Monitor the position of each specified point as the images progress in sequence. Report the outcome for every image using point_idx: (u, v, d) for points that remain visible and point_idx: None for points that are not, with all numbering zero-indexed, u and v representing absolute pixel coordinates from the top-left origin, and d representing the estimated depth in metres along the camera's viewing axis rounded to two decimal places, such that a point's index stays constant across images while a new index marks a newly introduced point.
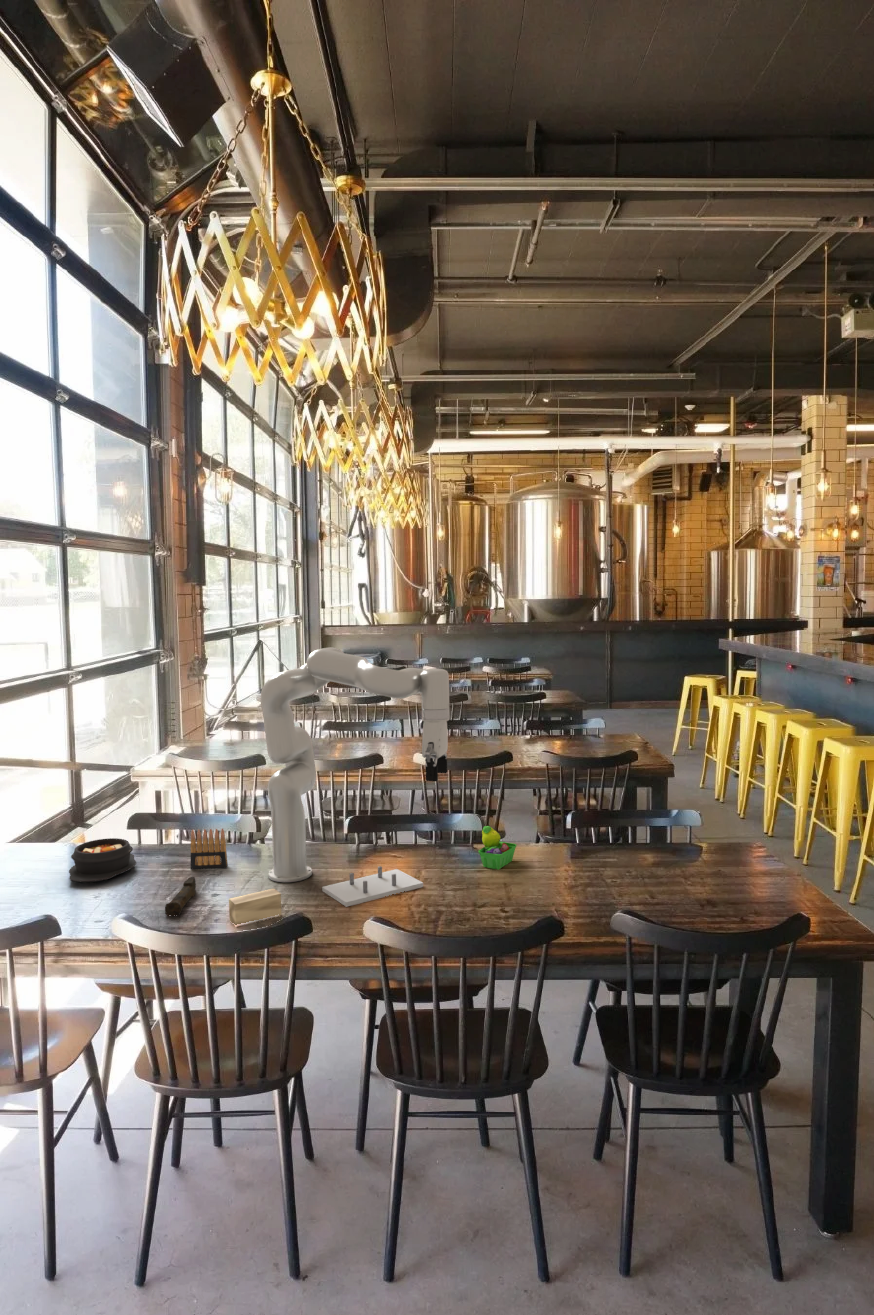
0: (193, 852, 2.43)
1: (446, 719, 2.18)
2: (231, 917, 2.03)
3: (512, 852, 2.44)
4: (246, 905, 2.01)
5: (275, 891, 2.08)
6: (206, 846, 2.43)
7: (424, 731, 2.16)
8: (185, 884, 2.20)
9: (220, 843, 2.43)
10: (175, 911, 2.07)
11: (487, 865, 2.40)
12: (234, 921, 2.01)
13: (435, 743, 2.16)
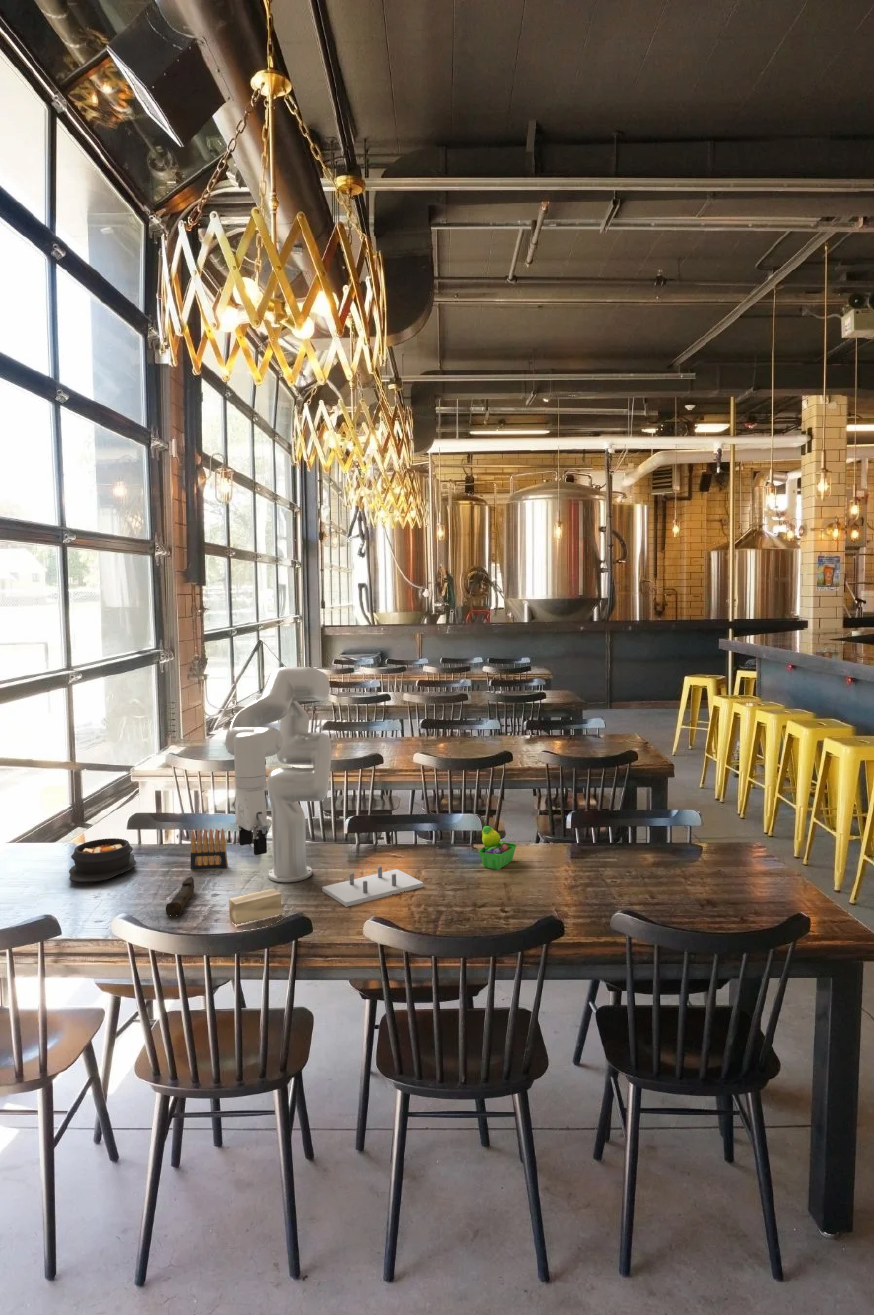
0: (193, 852, 2.43)
1: None
2: (231, 917, 2.03)
3: (512, 852, 2.44)
4: (246, 905, 2.01)
5: (275, 891, 2.08)
6: (206, 846, 2.43)
7: (251, 801, 1.98)
8: (184, 884, 2.20)
9: (220, 843, 2.43)
10: (176, 911, 2.07)
11: (487, 865, 2.40)
12: (234, 921, 2.01)
13: (263, 812, 2.00)
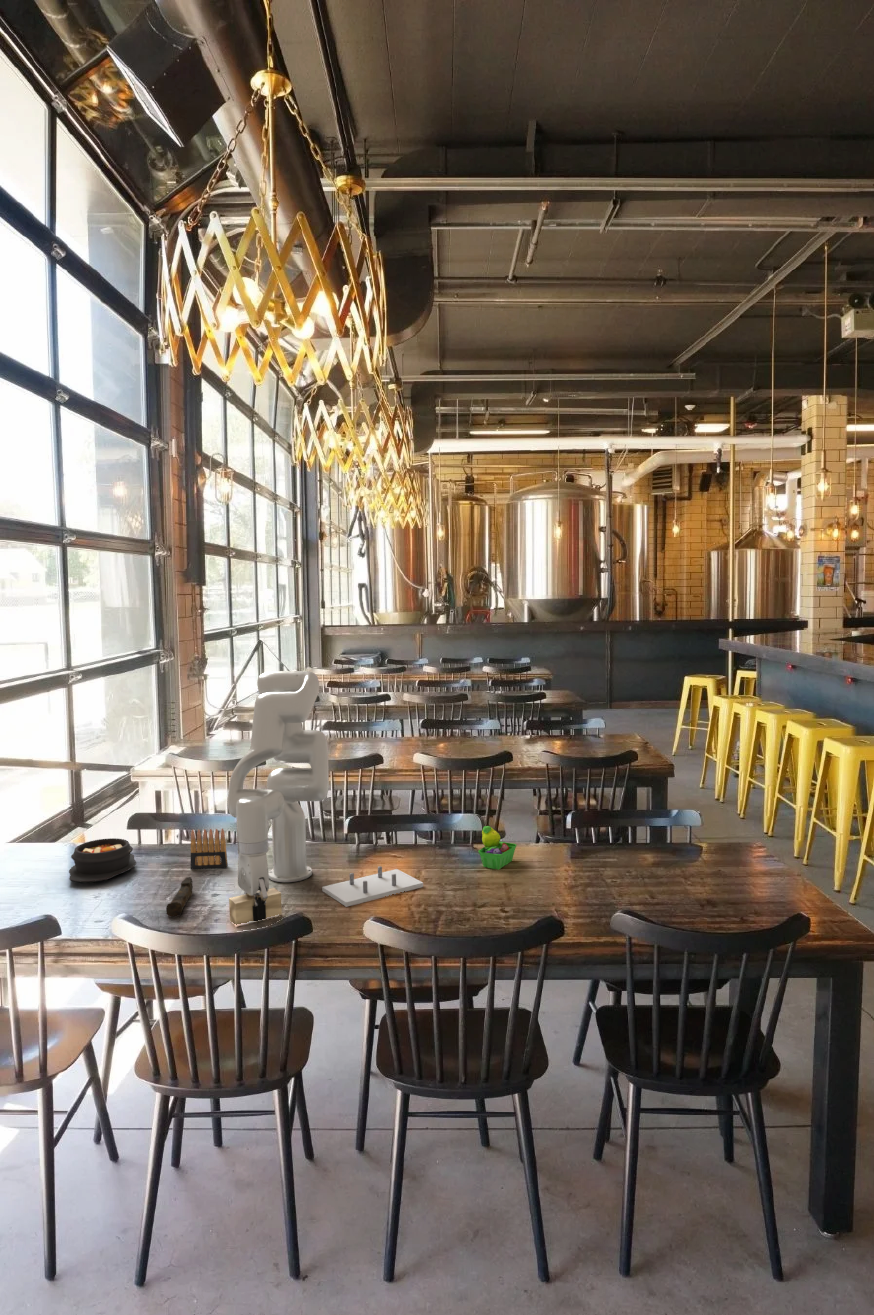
0: (193, 852, 2.43)
1: None
2: (231, 916, 2.03)
3: (512, 852, 2.44)
4: (246, 904, 2.01)
5: (275, 890, 2.08)
6: (206, 846, 2.43)
7: (253, 867, 1.99)
8: (183, 884, 2.20)
9: (220, 843, 2.43)
10: (177, 911, 2.07)
11: (487, 865, 2.40)
12: (234, 920, 2.01)
13: (266, 877, 2.01)
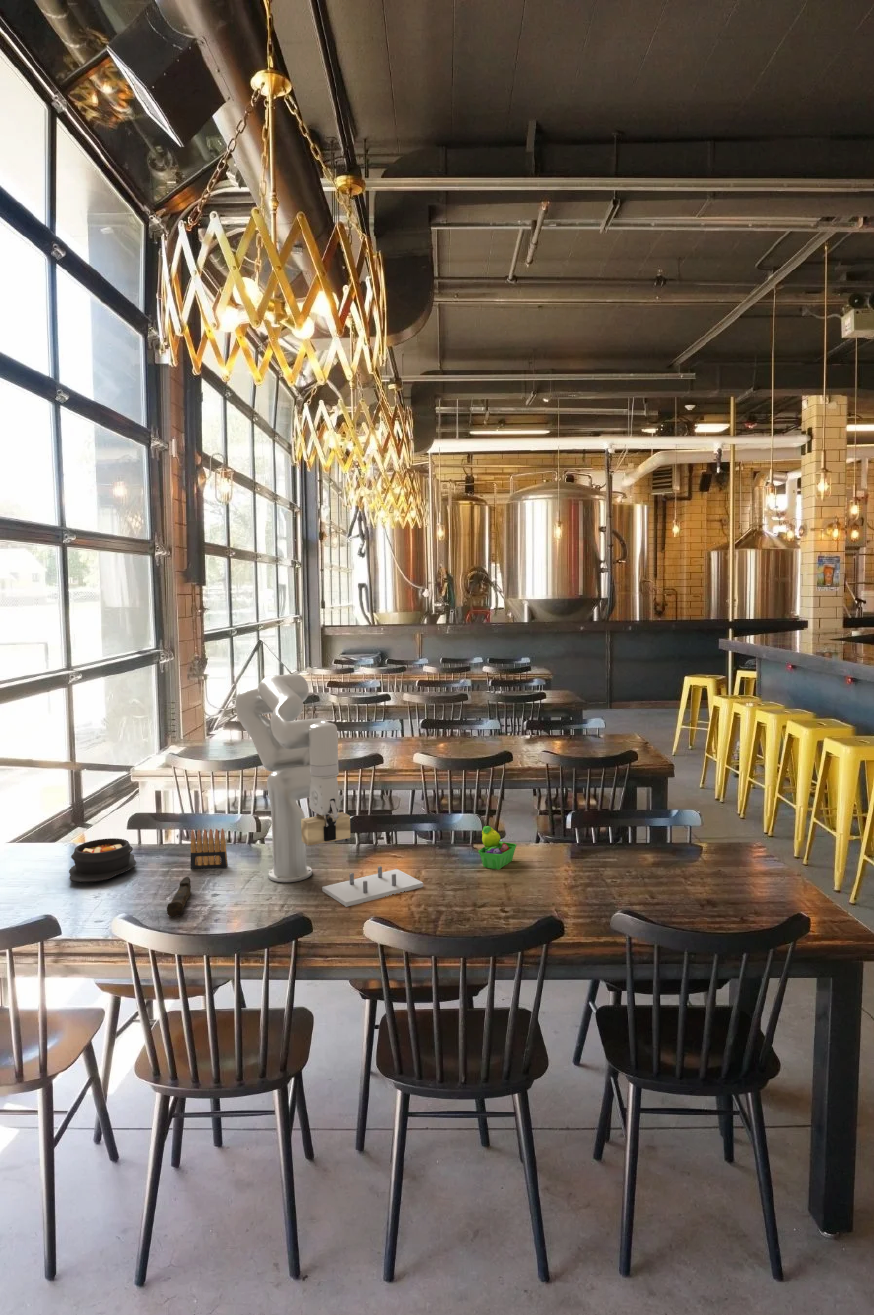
0: (193, 852, 2.43)
1: (338, 773, 2.14)
2: (303, 836, 2.13)
3: (512, 852, 2.44)
4: (317, 824, 2.11)
5: (344, 814, 2.17)
6: (206, 846, 2.43)
7: (325, 789, 2.09)
8: (182, 884, 2.20)
9: (220, 843, 2.43)
10: (178, 911, 2.08)
11: (487, 865, 2.40)
12: (306, 839, 2.11)
13: (336, 799, 2.11)
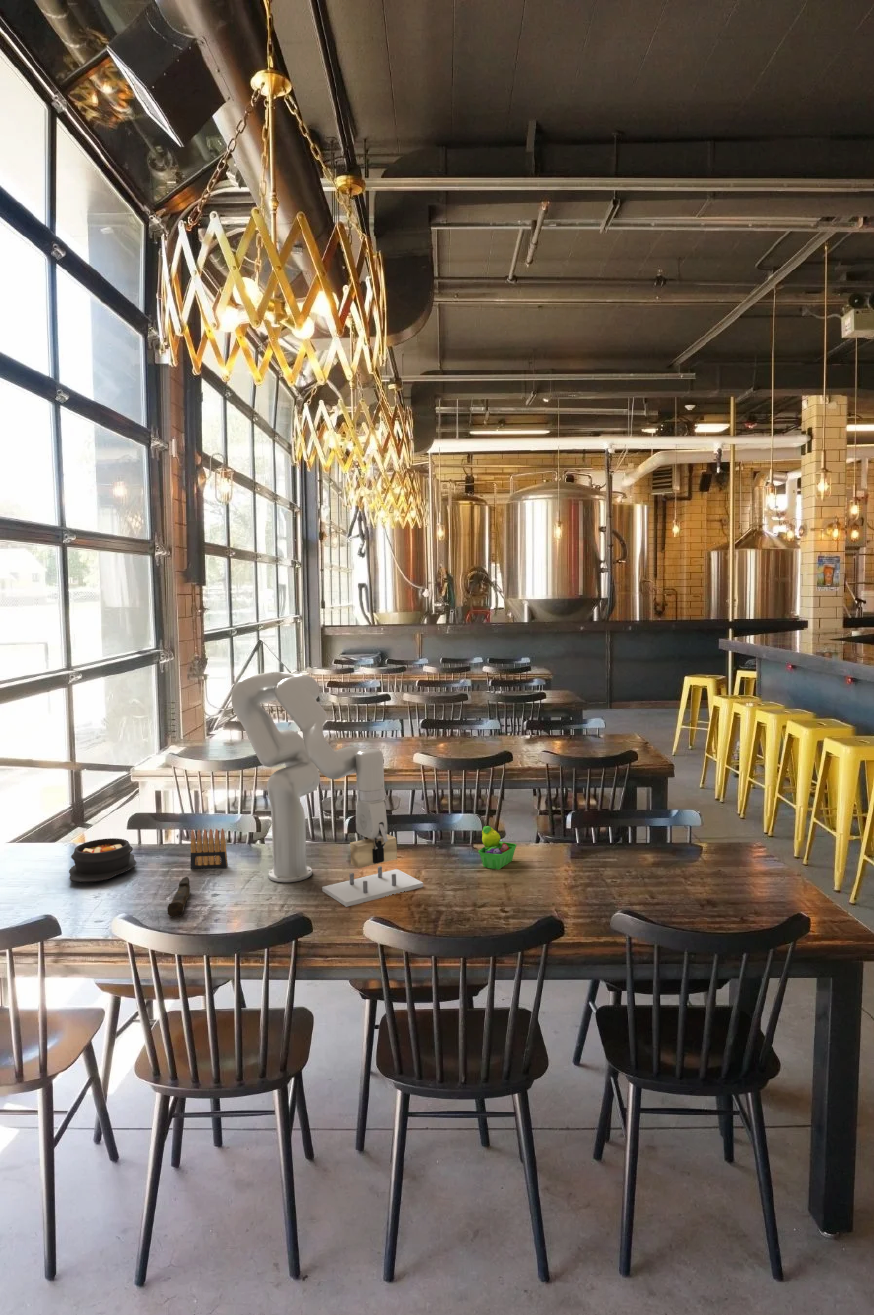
0: (193, 852, 2.43)
1: None
2: (353, 859, 2.21)
3: (512, 852, 2.44)
4: (367, 847, 2.20)
5: (390, 836, 2.26)
6: (206, 846, 2.43)
7: (374, 813, 2.17)
8: (181, 884, 2.20)
9: (220, 843, 2.43)
10: (179, 911, 2.08)
11: (487, 865, 2.40)
12: (357, 862, 2.19)
13: (385, 822, 2.19)
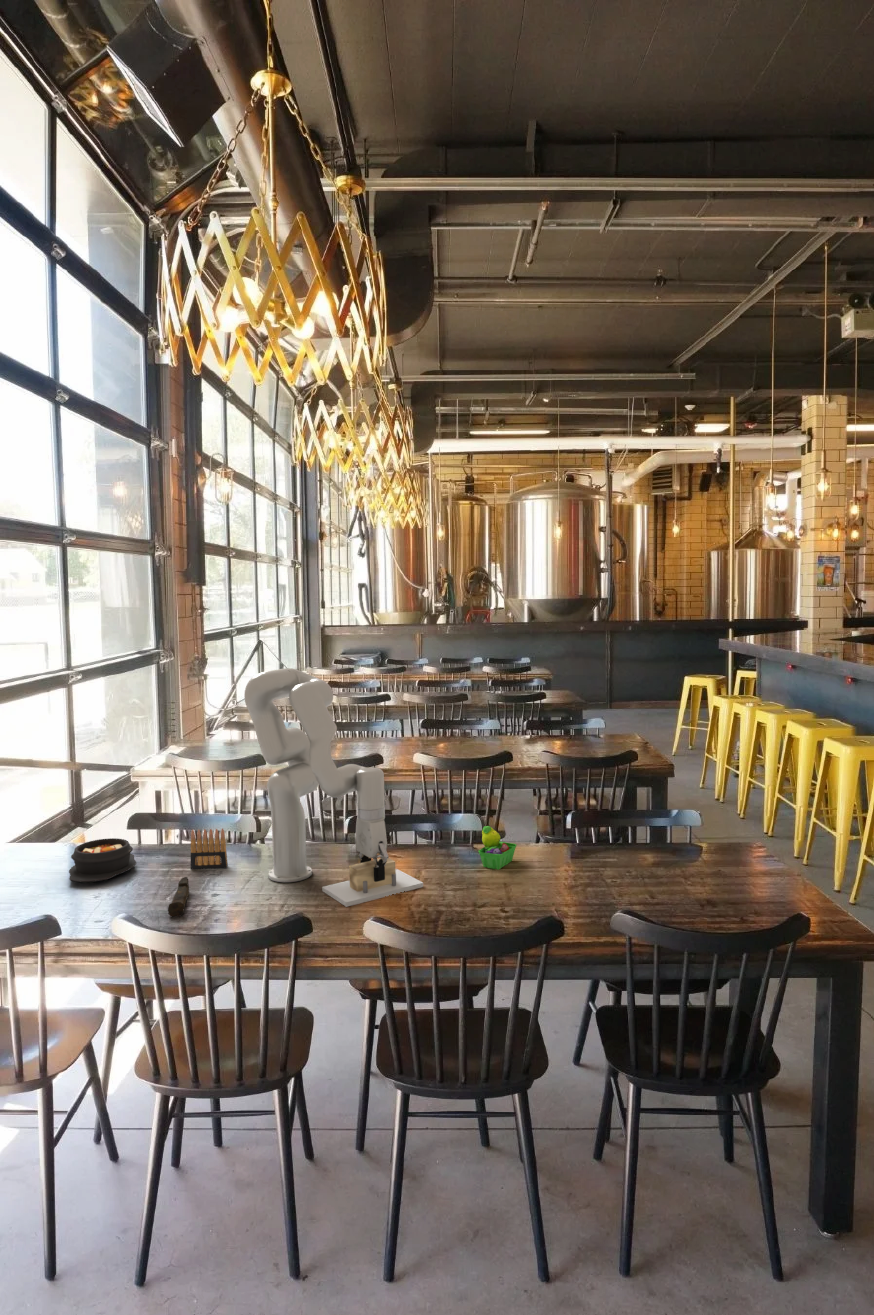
0: (193, 852, 2.43)
1: None
2: (352, 882, 2.21)
3: (512, 852, 2.44)
4: (366, 871, 2.20)
5: (389, 859, 2.27)
6: (206, 846, 2.43)
7: (373, 832, 2.18)
8: (180, 884, 2.20)
9: (220, 843, 2.43)
10: (179, 911, 2.08)
11: (487, 865, 2.40)
12: (355, 886, 2.20)
13: (384, 841, 2.20)
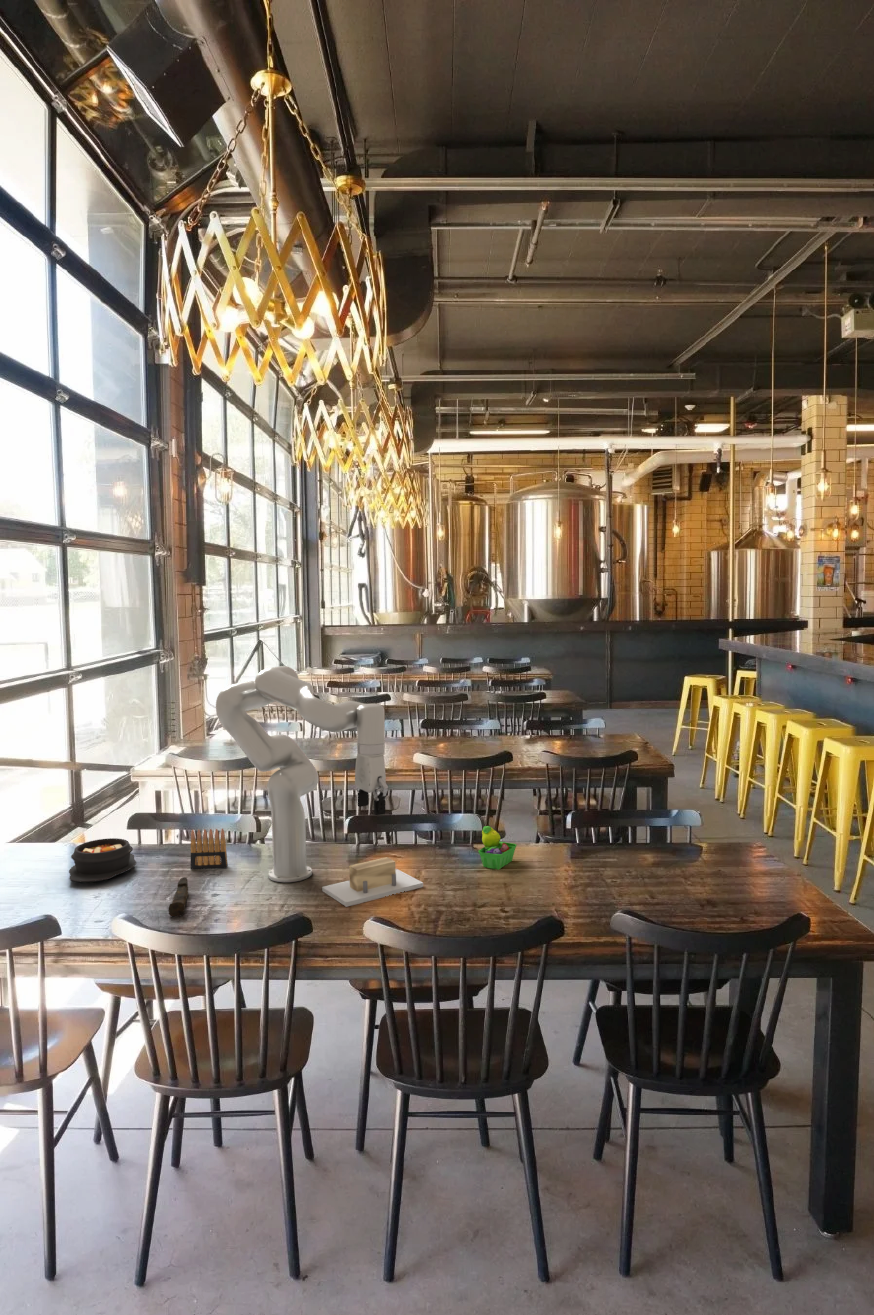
0: (193, 852, 2.43)
1: (384, 752, 2.24)
2: (352, 882, 2.21)
3: (512, 852, 2.44)
4: (366, 871, 2.20)
5: (389, 859, 2.27)
6: (206, 846, 2.43)
7: (373, 766, 2.18)
8: (180, 885, 2.20)
9: (220, 843, 2.43)
10: (180, 911, 2.08)
11: (487, 865, 2.40)
12: (355, 886, 2.20)
13: (383, 776, 2.20)
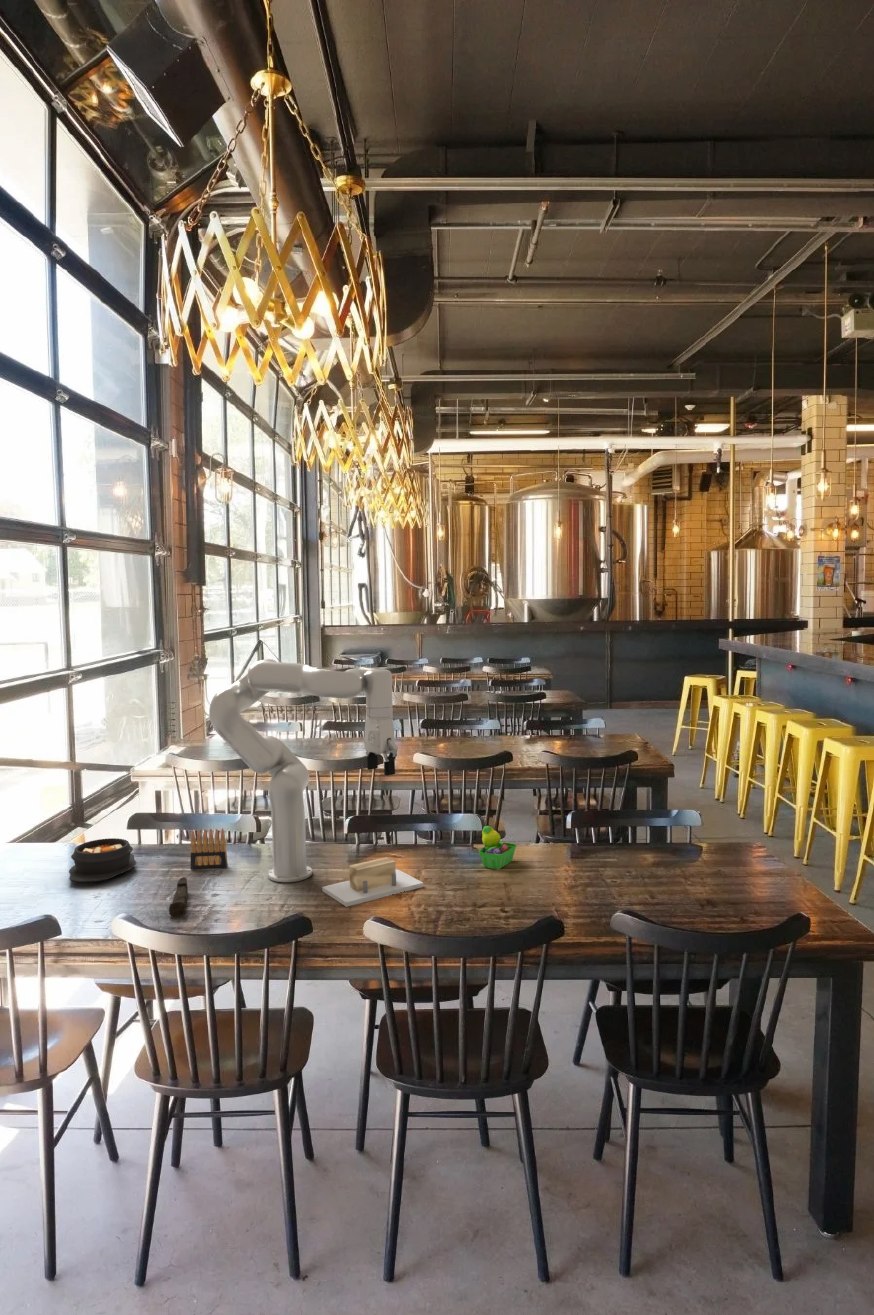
0: (193, 852, 2.43)
1: None
2: (352, 882, 2.21)
3: (512, 852, 2.44)
4: (366, 871, 2.20)
5: (389, 859, 2.27)
6: (206, 846, 2.43)
7: (382, 728, 2.27)
8: (179, 884, 2.20)
9: (220, 843, 2.43)
10: (180, 911, 2.08)
11: (487, 865, 2.40)
12: (355, 886, 2.20)
13: (392, 738, 2.29)
